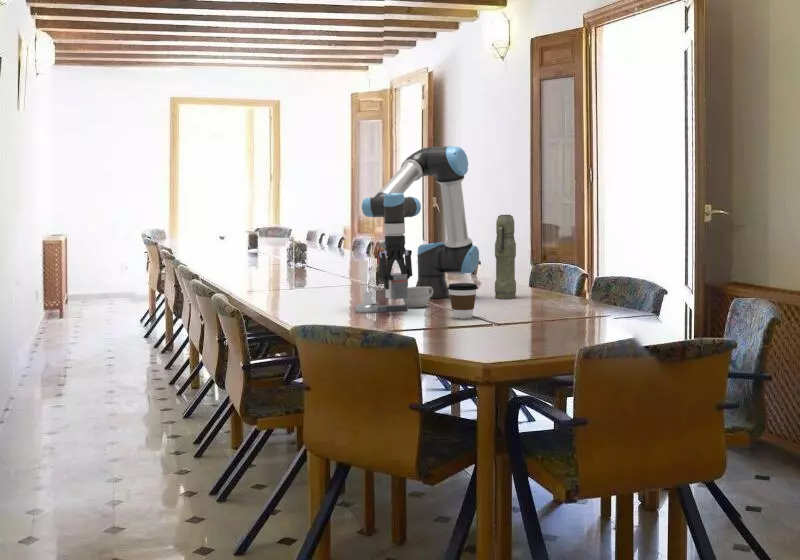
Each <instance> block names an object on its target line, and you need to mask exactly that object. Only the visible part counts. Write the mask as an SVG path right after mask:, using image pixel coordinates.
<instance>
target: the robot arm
mask: <svg viewBox="0 0 800 560" xmlns="http://www.w3.org/2000/svg"><path fill="white" fill-rule="evenodd" d="M400 165H401V166H400V168H399V170H398V171H396V173H395V174H394V175H393V176H391V178H390V179H389V181H387V183H385V185H384V186H383V187H381V189H380V190H379V191H378V192H377V193H376V195H374V196H370V197H365V198H364V199H363V200H362V202H361V203H362V204H361V210H362V214H363V216H365V217H368V218H373V219H374V218H383V219H384V222H383V223H384V224H383V225H384V226H383V227H384V234H385V236H384V245H385V246H384V247H385V248H384V251H380V252H378V253H377V255H378V258H379V262H378V263H379V268H378V269H379V270H378V279H380V280H382V281H383V288H384V290H385V289H386V298H385V299H387V298H392V290H391V281H390V280H389V279H390V275H391V273H392V269H393V265H394V263H395V261H396V262H397V264H398V268H399V271H400V273H403V274H407V287H409V279H410V277H413V267H412V253H413V251H412V250H410V249H406V247H405V245H406V225H405V224H406V222H405V221H406V220H405V218H414V217H415V216H417V215H419V214H420V212H421V209H422V204H421V202H420V200H419V199H418V198H417V197H415V196H405V194H404V193H405V192H406V191H407V190H409V188H410V187H411V185H412V184H413V183H414V182H416V181H419V180H420V179H421V178H423V177H427V176H428V177H429V176H430V177H435V180H436V181H435V182H436V183H438V184H439V186H440V192H441V198H442V206H443V207H442V208H443V213H444V214H443V215H444V222H445V223H444V224H445V228H446V229H445V230H446V236H447V240H446V241H445V242H444V241H441V242H432V243H425V244H424V243H423V244H420V245H419V246H418V248H417V255H416V257H417V281H416V285H415V287H432V288H433V295H432V296H431V297H430V298H429V299H444V298H449V297H450V291H449V290H448V289H447V287H449V285H448V284H447V281H446V273H447V274H472V273H474V272H475V270H476V268H477V267H478V264H479V260H480V258H479V257H480V251H479V250H480V249H479V247H478V246H476V245H473V240H472V239H471V238H470V237H469V235H468V226H467V221H466V220H467V218H466V210H465V202H464V201H465V200H464V195H463V187H462V186H463V185H462V182H463V181H464V179H465V175H467V173H468V170H469V168H468V167H469V159H468V156H467V154H466V152H465V150H464V149H463V148H462V147H460V146H451V145H450V146H449V145H447V146H435V147H434V146H432V147H430V146H429V147H424V148H421V149H418V150H416V151H414V152H413V153H412V154H410V155H409V156H407V157H406V159H405V160H403V162H402V163H401V164H400ZM429 294H430V289H429Z"/></svg>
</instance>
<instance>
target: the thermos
mask: <svg viewBox="0 0 800 560" xmlns="http://www.w3.org/2000/svg"><path fill="white" fill-rule="evenodd" d="M495 225H496V226H495V229H496V232H495V233H496V237H495V239H496V240H495V242H494V257H495V281H494V294H495V299H496V300H514V299H516V298H517V295H516V293H517V281H516V278H515V277H516V276H515V275H516V264H515V263H516V260H515V259H516V256H517V247H516V246H517V243H516V241H515V240H516V239H515V220H514V217H513V215H512V214H499V215H498V216H497V218H496V221H495Z"/></svg>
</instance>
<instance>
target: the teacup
mask: <svg viewBox="0 0 800 560" xmlns="http://www.w3.org/2000/svg"><path fill="white" fill-rule="evenodd" d="M429 289H430V294H429ZM407 291H408V298H404V299H402V301H403V305H405V304H406V305H407V308H411V309H413V308H414V309H416V308H424V307H426V306H427V305H429V302H430V299H431V298H430V297H431V296H432V295H433V288H432V287H416V286H408V287H407Z"/></svg>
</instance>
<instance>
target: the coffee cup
mask: <svg viewBox="0 0 800 560" xmlns="http://www.w3.org/2000/svg"><path fill="white" fill-rule="evenodd" d="M447 289H448V290H449V297H450V305H451V309H452V313H453V315H452V316H453V318H454V317H455V318H454V319H457V318H460V319H459V320H462V319H464V320H467V319H466V318H468V319H472V317H473V313H474V309H475V305H476V304H475V303H476V297H477V294H476V293H477V290H478V289H479V287H478V284H477V283H473V282H472V283H471V282H470V283H469V282H456V283H450V284H448V287H447Z"/></svg>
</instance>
